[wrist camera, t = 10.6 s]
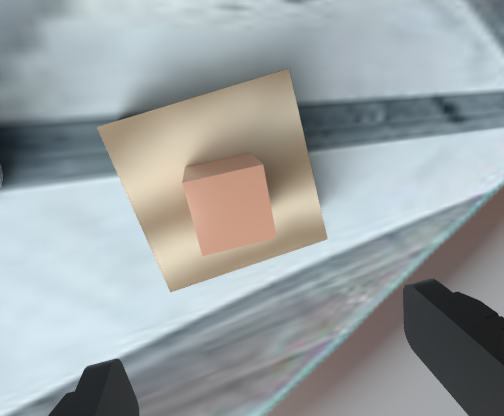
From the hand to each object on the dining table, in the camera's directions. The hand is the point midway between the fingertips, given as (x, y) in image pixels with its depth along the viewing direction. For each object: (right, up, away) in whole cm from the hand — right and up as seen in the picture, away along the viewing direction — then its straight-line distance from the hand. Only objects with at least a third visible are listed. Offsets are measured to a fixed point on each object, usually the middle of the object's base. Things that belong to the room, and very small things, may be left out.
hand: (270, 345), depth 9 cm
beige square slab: (-4, +7, +22) cm, 23 cm away
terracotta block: (-3, +5, +16) cm, 17 cm away
